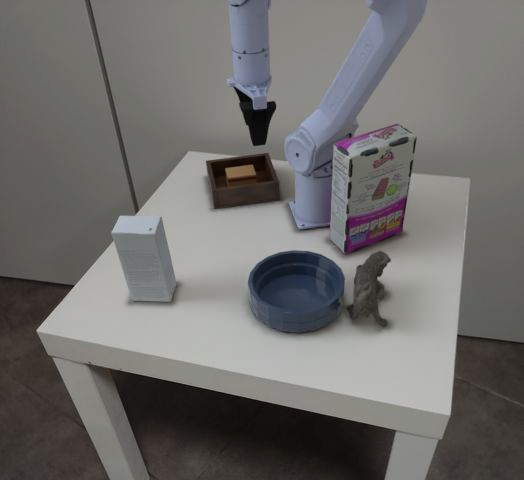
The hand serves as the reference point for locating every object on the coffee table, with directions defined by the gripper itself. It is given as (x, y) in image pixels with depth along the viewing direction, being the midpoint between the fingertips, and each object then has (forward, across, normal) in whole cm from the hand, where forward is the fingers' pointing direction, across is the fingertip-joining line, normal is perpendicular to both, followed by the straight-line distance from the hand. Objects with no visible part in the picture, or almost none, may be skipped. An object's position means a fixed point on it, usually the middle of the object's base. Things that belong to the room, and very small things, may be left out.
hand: (255, 134), depth 92 cm
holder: (+9, +1, -3) cm, 10 cm away
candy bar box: (+10, +20, +14) cm, 26 cm away
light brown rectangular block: (+9, +1, -3) cm, 10 cm away
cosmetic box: (+10, +26, -20) cm, 34 cm away
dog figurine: (+10, +35, +10) cm, 38 cm away
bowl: (+9, +32, 0) cm, 34 cm away
